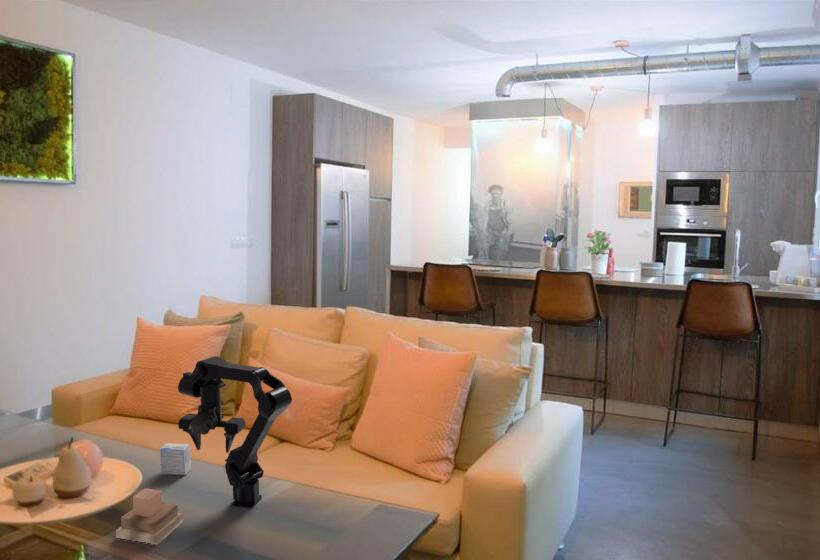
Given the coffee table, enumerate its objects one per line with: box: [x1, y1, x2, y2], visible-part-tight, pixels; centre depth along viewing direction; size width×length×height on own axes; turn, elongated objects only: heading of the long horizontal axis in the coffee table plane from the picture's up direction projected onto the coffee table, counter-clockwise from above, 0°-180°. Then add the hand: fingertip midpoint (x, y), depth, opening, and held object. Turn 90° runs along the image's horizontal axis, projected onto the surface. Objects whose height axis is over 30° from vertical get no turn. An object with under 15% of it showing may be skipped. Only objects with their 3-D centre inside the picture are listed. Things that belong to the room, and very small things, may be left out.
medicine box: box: [159, 442, 192, 476], centre depth 216 cm, size 8×4×9 cm, turn 84°
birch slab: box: [115, 512, 184, 546], centre depth 183 cm, size 12×12×3 cm
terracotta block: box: [132, 487, 163, 517], centre depth 182 cm, size 5×5×5 cm
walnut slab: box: [120, 501, 179, 534], centre depth 183 cm, size 10×10×3 cm
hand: (213, 451), depth 202 cm, fingers open, 9 cm apart
